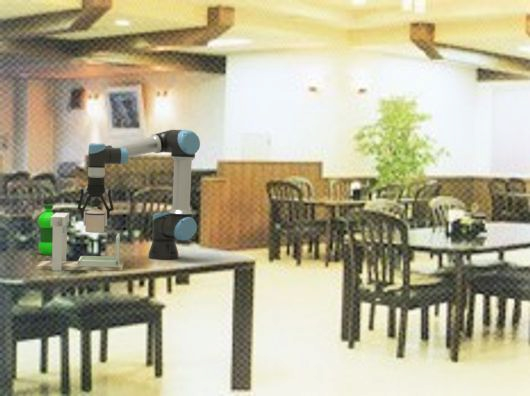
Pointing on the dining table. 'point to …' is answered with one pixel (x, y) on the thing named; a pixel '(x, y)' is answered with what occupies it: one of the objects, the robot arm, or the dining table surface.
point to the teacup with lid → (95, 221)
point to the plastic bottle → (46, 231)
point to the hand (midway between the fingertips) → (95, 225)
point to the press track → (76, 266)
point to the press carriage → (102, 258)
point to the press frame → (59, 239)
